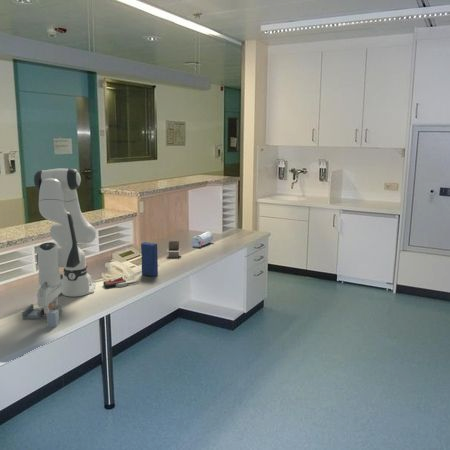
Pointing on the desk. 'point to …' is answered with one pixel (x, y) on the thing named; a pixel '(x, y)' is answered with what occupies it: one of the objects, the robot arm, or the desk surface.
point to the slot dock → (37, 313)
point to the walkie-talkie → (117, 283)
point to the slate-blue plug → (52, 318)
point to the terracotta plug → (51, 307)
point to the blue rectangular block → (149, 259)
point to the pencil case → (202, 239)
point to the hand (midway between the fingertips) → (51, 309)
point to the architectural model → (173, 249)
